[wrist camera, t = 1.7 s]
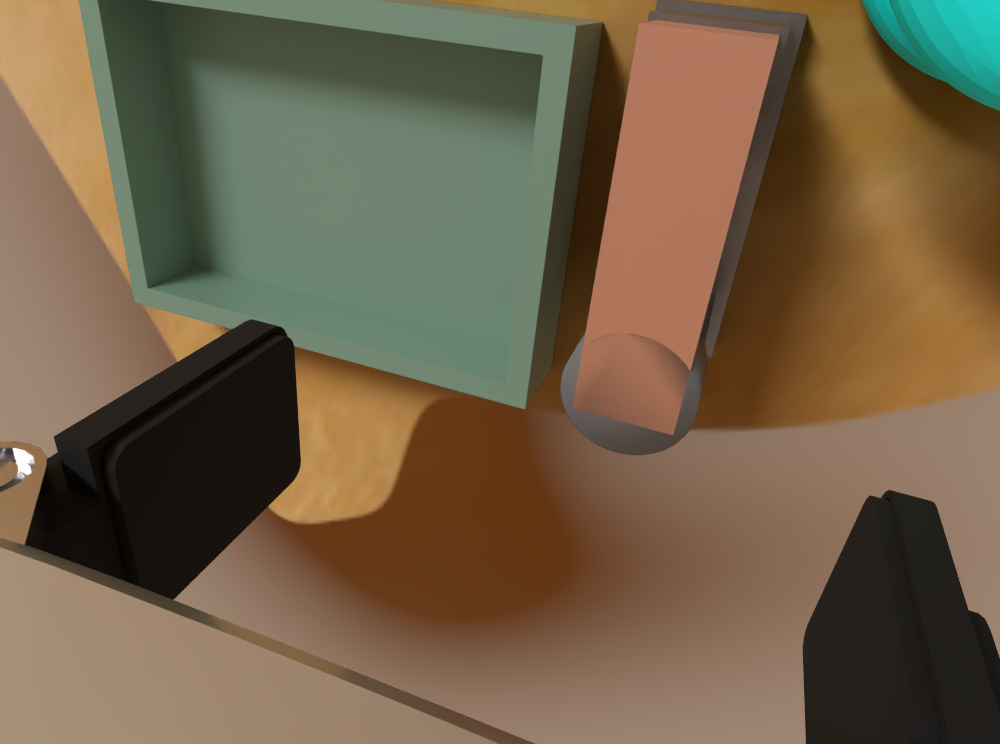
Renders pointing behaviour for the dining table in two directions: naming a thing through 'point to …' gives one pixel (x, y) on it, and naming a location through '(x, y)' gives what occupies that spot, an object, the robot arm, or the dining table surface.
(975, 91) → the donuts
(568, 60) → the tray
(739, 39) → the strut
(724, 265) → the bracket
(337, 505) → the dining table surface
